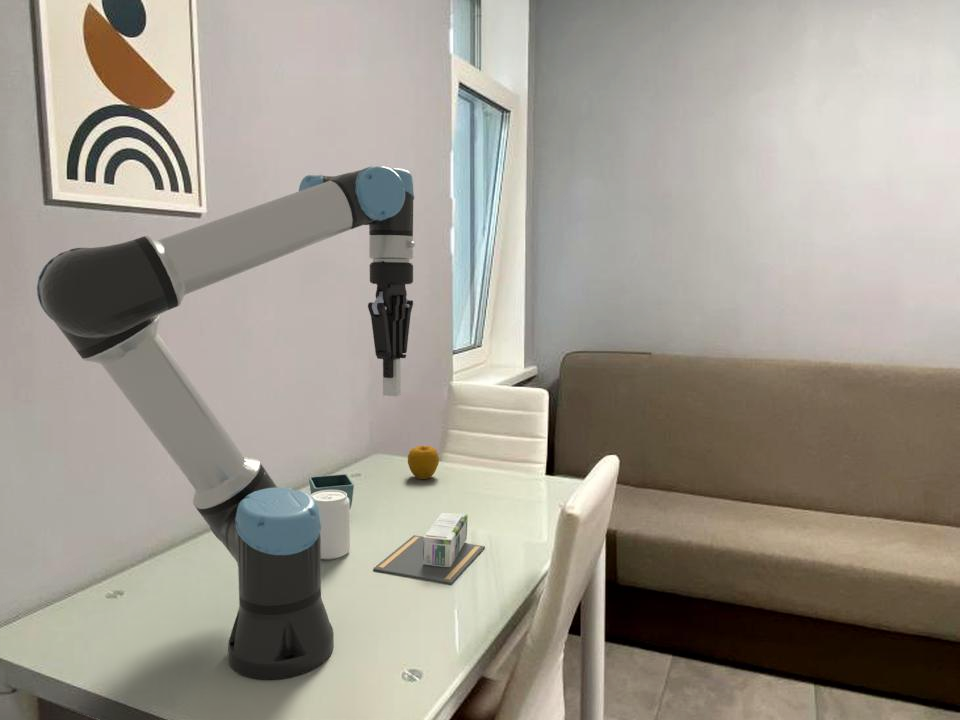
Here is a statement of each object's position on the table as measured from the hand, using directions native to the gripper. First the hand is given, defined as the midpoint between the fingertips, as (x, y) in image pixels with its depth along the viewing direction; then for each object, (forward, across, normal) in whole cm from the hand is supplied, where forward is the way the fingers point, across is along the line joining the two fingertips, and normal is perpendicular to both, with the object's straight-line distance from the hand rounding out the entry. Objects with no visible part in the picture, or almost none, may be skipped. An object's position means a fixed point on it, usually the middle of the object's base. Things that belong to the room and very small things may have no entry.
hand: (391, 395), depth 126 cm
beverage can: (+35, +6, +17) cm, 39 cm away
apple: (+35, +60, +21) cm, 72 cm away
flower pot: (+35, +23, +27) cm, 50 cm away
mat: (+34, +11, -3) cm, 36 cm away
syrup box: (+31, +22, -4) cm, 38 cm away
